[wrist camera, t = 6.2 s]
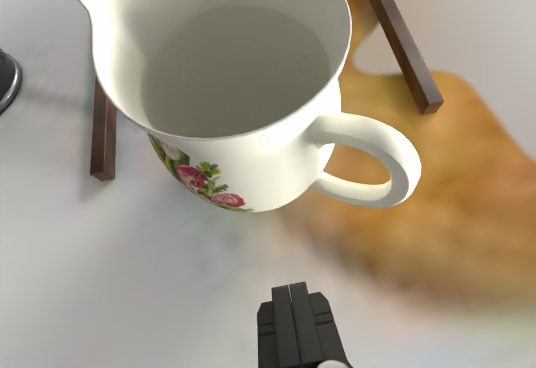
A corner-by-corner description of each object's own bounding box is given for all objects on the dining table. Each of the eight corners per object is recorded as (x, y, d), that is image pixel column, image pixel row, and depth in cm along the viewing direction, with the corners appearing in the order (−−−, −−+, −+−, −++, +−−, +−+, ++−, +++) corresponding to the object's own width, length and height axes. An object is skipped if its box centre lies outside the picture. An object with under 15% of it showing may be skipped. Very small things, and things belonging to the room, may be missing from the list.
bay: (435, 112, 24) (444, 101, 23) (101, 181, 25) (89, 174, 23) (358, -51, 32) (361, -67, 31) (109, 4, 33) (100, -9, 31)
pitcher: (339, 293, 20) (415, 292, 7) (146, 173, 24) (-19, 42, 12) (404, 166, 23) (544, -2, 10) (220, 80, 27) (151, -107, 15)
